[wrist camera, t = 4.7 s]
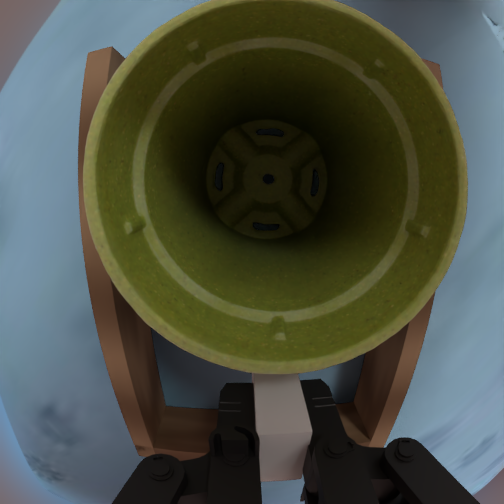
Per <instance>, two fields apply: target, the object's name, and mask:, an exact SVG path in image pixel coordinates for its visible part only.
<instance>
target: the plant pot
mask: <svg viewBox="0 0 504 504" xmlns="http://www.w3.org/2000/svg"><path fill="white" fill-rule="evenodd" d="M271 128H275V129H279V130H282V131H283V132H284V136H282V137H279V136H274V135H257V134H256V132H257V130H258V129H271ZM220 163H223V164H224V170H223V176H222V183H223V189H222V190H221V191H219V190H218V189H217V187H216V185H215V175H216V169H217V166H218V164H220ZM313 169H315V170H316V171H317V173H318V177H319V188H318V192H317V193H316V195H315V196H311V194H310V191H311V187H312V179H313V177H312V175H313ZM265 174H271V175H272V176H273V177H274V181H273V182H272V183H271V184H266V183H265V182H263V177H264V175H265ZM83 192H84V204H85V210H86V216H87V221H88V226H89V230H90V233H91V236H92V239H93V242H94V245H95V248H96V250H97V251H98V254H99V256H100V258H101V261H102V263H103V265H104V267H105V269H106V271H107V273H108V275H109V276H110V278H111V280H112V282H113V283H114V285H115V286H116V288H117V289H118V291H119V292H120V293H121V295H122V296H123V297H124V299H125V300H126V301H127V302H128V303H129V304H130V305H131V307H132V308H133V309H134V310H135V312H136V313H137V314H138V315H139V316H140V317H141V318H142V319H143V321H144V322H145V323H146V324H147V325H148V326H150V327H151V328H153V329H154V330H155V331H156V332H158V333H159V334H160V335H162V336H163V337H164V338H166V339H167V340H168V341H170V342H171V343H173V344H175V345H176V346H178V347H179V348H181V349H183V350H185V351H187V352H189V353H191V354H193V355H195V356H198V357H200V358H202V359H204V360H207V361H209V362H212V363H215V364H218V365H221V366H224V367H227V368H231V369H234V370H240V371H244V372H249V373H258V374H298V373H305V372H311V371H316V370H321V369H325V368H328V367H330V366H334V365H337V364H340V363H343V362H346V361H348V360H351V359H353V358H355V357H357V356H359V355H362V354H364V353H366V352H368V351H370V350H372V349H374V348H375V347H377V346H378V345H380V344H381V343H383V342H384V341H386V340H387V339H388V338H390V337H391V336H393V335H394V334H396V333H397V332H398V331H400V330H401V329H402V328H403V327H404V326H405V325H406V324H407V323H408V322H409V321H411V320H412V319H413V318H414V317H415V316H416V315H417V313H418V312H419V311H420V310H421V309H422V308H423V307H424V305H425V304H426V303H427V302H428V300H429V299H430V298H431V296H432V295H433V293H434V292H435V291H436V289H437V288H438V286H439V285H440V283H441V281H442V280H443V278H444V276H445V274H446V272H447V271H448V269H449V267H450V264H451V262H452V260H453V258H454V255H455V252H456V250H457V247H458V244H459V240H460V237H461V234H462V231H463V227H464V222H465V217H466V210H467V196H468V178H467V162H466V154H465V149H464V145H463V140H462V137H461V135H460V131H459V127H458V124H457V121H456V118H455V115H454V112H453V110H452V107H451V105H450V103H449V101H448V99H447V97H446V95H445V93H444V91H443V89H442V88H441V86H440V84H439V83H438V81H437V79H436V78H435V76H434V75H433V74H432V72H431V71H430V69H429V68H428V67H427V66H426V64H425V63H424V62H423V61H422V59H421V58H420V57H419V56H418V54H417V53H416V52H415V51H414V50H413V49H412V48H411V47H410V46H408V45H407V44H406V43H405V42H404V41H403V40H402V39H401V38H399V37H398V36H397V35H395V34H394V33H393V32H392V31H390V30H389V29H387V28H385V27H384V26H383V25H381V24H380V23H378V22H377V21H375V20H373V19H372V18H370V17H369V16H367V15H366V14H364V13H362V12H360V11H358V10H356V9H354V8H352V7H350V6H347V5H345V4H343V3H340V2H337V1H334V0H211V1H208V2H205V3H202V4H199V5H197V6H195V7H193V8H191V9H189V10H187V11H185V12H184V13H182V14H180V15H178V16H176V17H174V18H173V19H171V20H170V21H168V22H167V23H165V24H163V25H162V26H160V27H159V28H157V29H156V30H154V31H153V32H152V33H151V34H150V35H148V36H147V37H146V38H145V39H144V40H143V41H142V42H141V43H140V44H139V45H138V46H137V47H136V48H135V49H134V50H133V51H132V52H131V53H130V54H129V55H128V56H127V57H126V59H125V60H124V61H123V63H122V64H121V65H120V66H119V68H118V69H117V70H116V72H115V73H114V75H113V76H112V78H111V80H110V81H109V83H108V85H107V87H106V88H105V90H104V92H103V94H102V96H101V98H100V100H99V103H98V105H97V107H96V110H95V112H94V115H93V118H92V121H91V125H90V128H89V132H88V135H87V140H86V146H85V156H84V165H83ZM254 222H255V223H261V224H271V225H272V224H279V225H280V226H279V227H278V229H277V230H272V231H261V230H256V229H255V228H254V227H253V223H254Z"/></svg>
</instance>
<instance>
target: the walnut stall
mask: <svg viewBox="0 0 504 504" xmlns="http://www.w3.org/2000/svg"><path fill="white" fill-rule="evenodd" d="M421 59H422V58H421ZM124 60H125V58H124V57H123V56H122V55H121V54H120V53H119V52H118V51H116V50H115V49H114V48H113V47H108V48H104V49H100V50H96V51H93V52H89V53H88V56H87V62H86V68H85V75H84V82H83V90H82V99H81V110H80V124H79V146H78V187H79V209H80V223H81V234H82V244H83V253H84V261H85V268H86V275H87V281H88V287H89V293H90V298H91V304H92V309H93V313H94V318H95V323H96V327H97V332H98V336H99V340H100V344H101V348H102V352H103V355H104V359H105V363H106V366H107V370H108V373H109V376H110V379H111V383H112V386H113V389H114V392H115V395H116V398H117V401H118V404H119V407H120V409H121V412H122V415H123V418H124V420H125V423H126V425H127V428H128V430H129V433H130V435H131V438H132V440H133V443H134V445H135V447H136V450H137V452H138V454H139V456H144V457H148V456H150V455H153V454H161V453H162V454H168V455H171V456H173V457H175V458H177V459H178V460H179V461H183V460H190V459H195V458H199V457H201V456H203V455H205V454H207V453H208V452H209V451H210V447H209V441H208V439H209V436H210V434H211V432H212V431H213V430H215V429H216V428H217V419H218V411H219V410H218V409H198V408H183V407H172V406H166V404H165V400H164V396H163V391H162V387H161V382H160V377H159V372H158V367H157V362H156V357H155V351H154V346H153V340H152V334H151V327H150V326H148V325H147V324H146V323H145V322H144V321H143V319H142V318H141V317H140V316H139V315H138V314H137V313H136V312H135V310H134V309H133V308H132V307H131V305H130V304H129V303H128V302H127V301H126V300H125V299H124V297H123V296H122V295H121V293H120V292H119V291H118V289H117V288H116V286H115V285H114V283H113V282H112V280H111V278H110V276H109V275H108V273H107V271H106V269H105V267H104V265H103V263H102V261H101V258H100V256H99V254H98V251H97V250H96V248H95V245H94V242H93V239H92V236H91V233H90V230H89V226H88V221H87V216H86V210H85V204H84V192H83V165H84V156H85V146H86V140H87V135H88V132H89V128H90V125H91V121H92V118H93V115H94V112H95V110H96V107H97V105H98V103H99V100H100V98H101V96H102V94H103V92H104V90H105V88H106V87H107V85H108V83H109V81H110V80H111V78H112V76H113V75H114V73H115V72H116V70H117V69H118V68H119V66H120V65H121V64H122V63H123V61H124ZM422 61H423V62H424V63H425V64H426V66H427V67H428V68H429V69H430V71H431V72H432V74H433V75H434V76H435V78H436V79H437V81H438V83H439V84H440V86H441V88H442V89H443V85H442V78H441V71H440V65H439V64H436V63H433V62H431V61H428V60H425V59H422ZM434 295H435V292H434V293H433V295H432V296H431V298H430V299H429V300H428V302H427V303H426V304H425V305H424V307H423V308H422V309H421V310H420V311H419V312H418V313H417V315H416V316H415V317H414V318H413V319H412V320H411V321H409V322H408V323H407V324H406V325H405V326H404V327H403V328H402V329H401V330H400V331H398V332H397V333H396V334H394V335H393V336H391V337H390V338H388V339H387V340H386V341H384V342H383V343H381V344H380V345H378V346H377V347H375V348H374V349H372V350H370V351H368V352H366V353H365V358H364V362H363V367H362V371H361V375H360V379H359V383H358V387H357V391H356V395H355V398H354V402H349V403H342V404H335V406H336V407H337V410H338V412H339V415H340V418H341V421H342V423H343V426H344V429H345V432H346V434H347V436H348V437H350V438H351V439H353V440H355V442H356V443H357V444H359V445H362V446H366V447H382V448H383V447H384V445H385V443H386V441H387V438H388V436H389V434H390V432H391V430H392V427H393V425H394V423H395V421H396V418H397V416H398V413H399V411H400V409H401V406H402V403H403V401H404V398H405V396H406V393H407V390H408V388H409V385H410V382H411V379H412V376H413V373H414V370H415V367H416V364H417V361H418V358H419V355H420V351H421V348H422V344H423V341H424V337H425V334H426V330H427V326H428V322H429V318H430V314H431V309H432V305H433V300H434Z"/></svg>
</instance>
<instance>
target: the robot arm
mask: <svg viewBox="0 0 504 504" xmlns="http://www.w3.org/2000/svg"><path fill="white" fill-rule="evenodd" d="M218 410H219V411H218V419H217V428H216V429H215V430H213V431H212V432H211V434H210V436H209V439H208V441H209V447H210V451H209V452H208V453H207V454H205V455H203V456H201V457H199V458H195V459H190V460H183V461H179V460H178V459H177V458H175V457H173V456H171V455H168V454H162V453H161V454H153V455H150V456H148V457H146V458H144V459H143V460H142V461H141V462H140V463H139V465H138V466H137V468H136V469H135V471H134V472H133V474H132V475H131V477H130V478H129V479H128V481H127V482H126V484H125V485H124V487H123V488H122V490H121V491H120V493H119V494H118V495H117V497H116V498H115V500H114V501H113V503H112V504H262V497H261V482H264V481H283V480H296V479H301V478H302V474H303V476H304V481H305V484H304V487H303V491H302V494H301V499H300V501H305V504H480V503H479V502H478V501H477V500H476V499H475V498H474V497H473V496H472V495H471V494H470V493H469V492H468V491H467V490H466V489H465V488H464V487H463V486H462V485H461V484H460V483H459V482H458V481H457V480H456V479H455V478H454V477H453V476H452V475H451V474H450V473H449V472H448V471H447V470H446V469H445V468H444V467H443V466H442V465H441V464H440V463H439V462H438V461H437V459H436V458H435V457H434V456H433V455H432V454H431V453H430V452H429V451H428V450H427V449H426V448H425V447H424V446H423V445H422V444H421V443H419V442H418V441H417V440H415V439H411V438H398V439H395V440H393V441H391V442H390V443H389V444H388V445H387V447H386V448H382V447H366V446H362V445H359V444H357V443H356V442H355V440H353V439H351V438H350V437H348V436H347V434H346V432H345V429H344V426H343V423H342V421H341V418H340V415H339V412H338V410H337V407H336V406H335V402H334V399H333V398H332V394H331V391H330V388H329V386H328V385H327V384H326V383H324V382H323V381H322V380H321V379H313V380H299V376H298V374H258V373H252V383H226V385H225V386H224V387H223V389H222V390H221V391H220V400H219V409H218Z"/></svg>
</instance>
